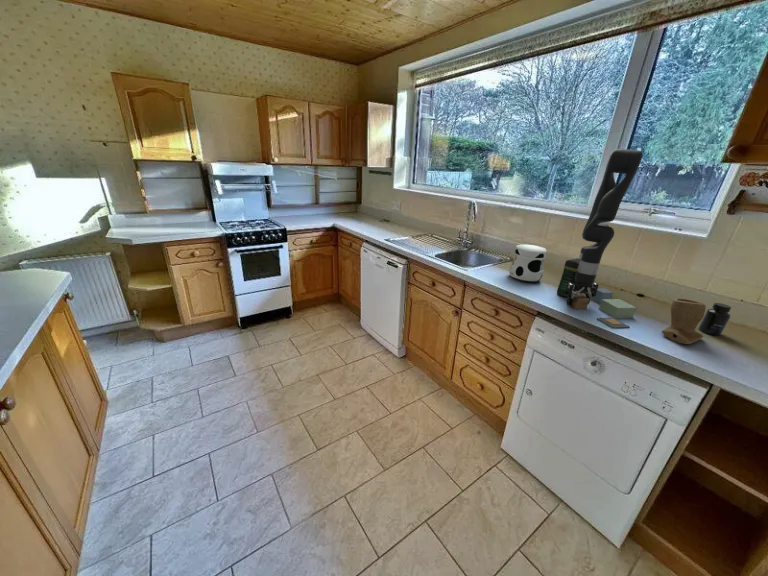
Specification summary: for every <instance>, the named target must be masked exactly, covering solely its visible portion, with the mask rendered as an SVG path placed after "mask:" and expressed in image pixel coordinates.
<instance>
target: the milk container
mask: <svg viewBox="0 0 768 576" xmlns="http://www.w3.org/2000/svg"><path fill="white" fill-rule="evenodd" d="M546 255H547V249H546V248H545V247H542V246H540V245H533V244H525V243H524V244H517V245H516V247H515V249H514V254H513V260H512V262H511V263H510V266H509V270H508V273H509V275H510V277H511V278H513V279H514V280H516V281H520V282H524V283H536V282H539V281H540V280H542V278H543V276H544V264H545V259H546Z"/></svg>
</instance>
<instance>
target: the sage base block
mask: <svg viewBox="0 0 768 576" xmlns="http://www.w3.org/2000/svg"><path fill="white" fill-rule="evenodd" d="M598 310H600V311H601V312H603V313H605V314H607V315H608V314H609V316H610V317H614V318H615V319H623V318H624V319H625V318H627V319H629V318H630V319H631V318H634V315H635V312H636V310H637V307H636V306H635V305H632V304H630V303H628V302H626V301H625V300H622V299H620V298H611V299H602V300H601V303H599V307H598Z"/></svg>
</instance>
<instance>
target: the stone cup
mask: <svg viewBox="0 0 768 576" xmlns="http://www.w3.org/2000/svg"><path fill="white" fill-rule="evenodd" d="M705 313H706V304H705V303H704V302H703V301H698V300H693V299H689V298H688V299H687V298H680V297H679V298H674V299H673V300H672V302H671V305H670V320H671V321H670V326H668V327H666V328H665V329H663V330H661V334H663V335H664V336H665V337H666V338H668V339H669V340H671V341H673V342H675V343H679V344H683V345H684V344H685V345H690V344H693V343H696V342H698V341H700V340H701V339H703V337H704V335H703V334H701V333H699V332H697V331H696V328H697V326H698V325H699V324H700V323H701V321H702V319H703V317H704V315H705Z"/></svg>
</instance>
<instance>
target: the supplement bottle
mask: <svg viewBox="0 0 768 576" xmlns="http://www.w3.org/2000/svg"><path fill="white" fill-rule="evenodd" d="M731 309H732V307H731V306H730V305H728V304H725V303H721V302H714V303H713V305H712V308H708V309H707V310H705V313H704V316H703V318H702V319H701V321H700V322H699V324H698V325H699V326H698V330H699V331H700V332H701V333H702V332H703V333H704V334H707V335H710V336H715V337H718V336H721V335H722V333H723V332H724V330H725V328H726V326H727V324H728V323H729V321H730V319H731V314H730V311H731Z"/></svg>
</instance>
